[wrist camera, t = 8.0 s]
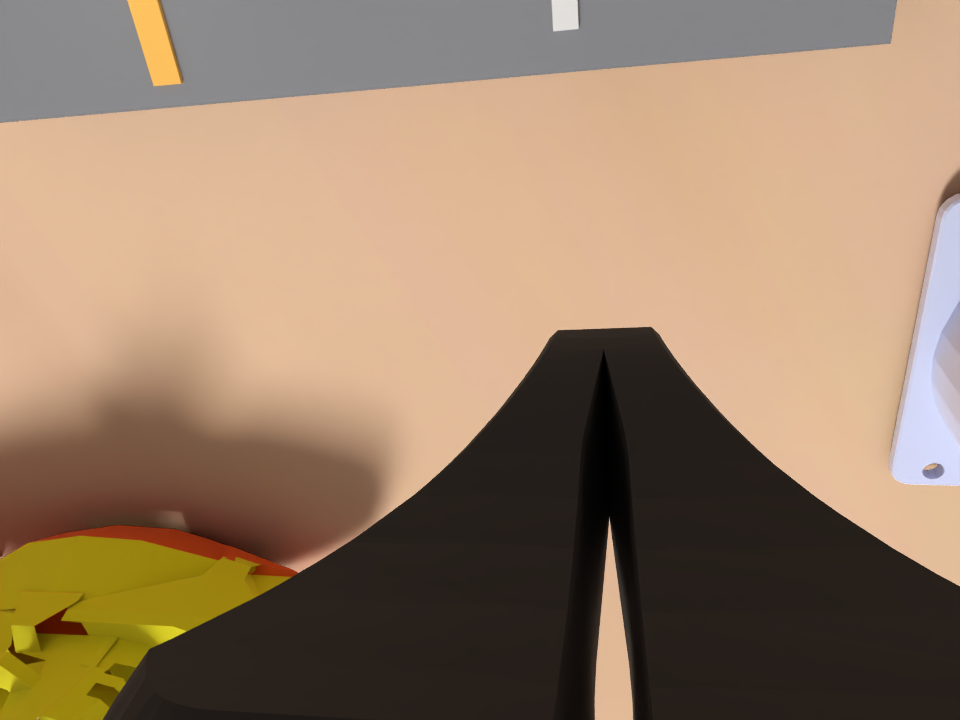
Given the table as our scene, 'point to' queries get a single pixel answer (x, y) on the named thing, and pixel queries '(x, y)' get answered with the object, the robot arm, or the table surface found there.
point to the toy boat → (108, 611)
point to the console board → (375, 44)
